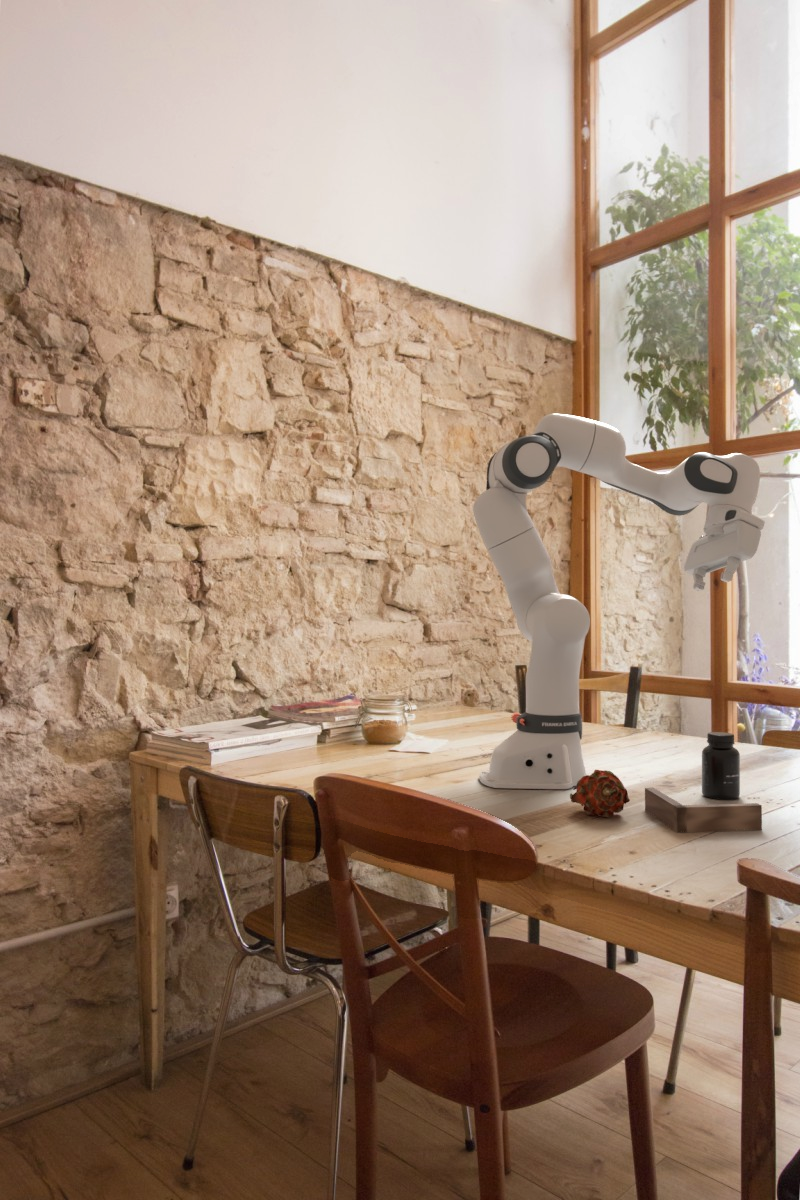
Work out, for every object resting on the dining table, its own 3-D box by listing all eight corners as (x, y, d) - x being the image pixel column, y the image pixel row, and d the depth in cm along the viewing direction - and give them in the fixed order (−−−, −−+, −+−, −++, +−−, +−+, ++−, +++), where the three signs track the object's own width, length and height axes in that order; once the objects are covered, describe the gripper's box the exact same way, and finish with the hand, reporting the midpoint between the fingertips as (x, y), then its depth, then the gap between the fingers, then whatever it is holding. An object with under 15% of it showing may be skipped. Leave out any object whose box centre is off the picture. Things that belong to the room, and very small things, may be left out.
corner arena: (677, 832, 138) (677, 807, 138) (645, 810, 153) (644, 787, 153) (761, 830, 139) (761, 805, 139) (721, 808, 154) (721, 785, 154)
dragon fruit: (620, 833, 144) (579, 827, 155) (650, 798, 148) (607, 795, 158) (592, 794, 143) (552, 791, 154) (622, 760, 147) (581, 759, 157)
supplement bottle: (736, 802, 159) (735, 737, 159) (698, 798, 162) (697, 734, 162) (743, 794, 165) (742, 732, 165) (706, 791, 168) (705, 729, 168)
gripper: (685, 532, 192) (670, 588, 188) (744, 507, 172) (729, 569, 169) (709, 543, 193) (694, 599, 189) (770, 519, 173) (755, 581, 170)
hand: (711, 585), depth 179 cm, fingers open, 8 cm apart
